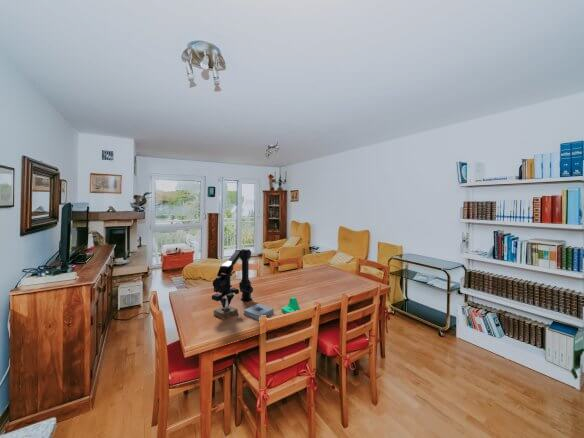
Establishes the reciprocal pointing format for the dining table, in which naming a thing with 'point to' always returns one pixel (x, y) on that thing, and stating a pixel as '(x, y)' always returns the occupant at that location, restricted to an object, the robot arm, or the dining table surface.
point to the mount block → (227, 314)
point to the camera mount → (291, 306)
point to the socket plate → (258, 311)
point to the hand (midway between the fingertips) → (225, 306)
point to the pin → (226, 306)
